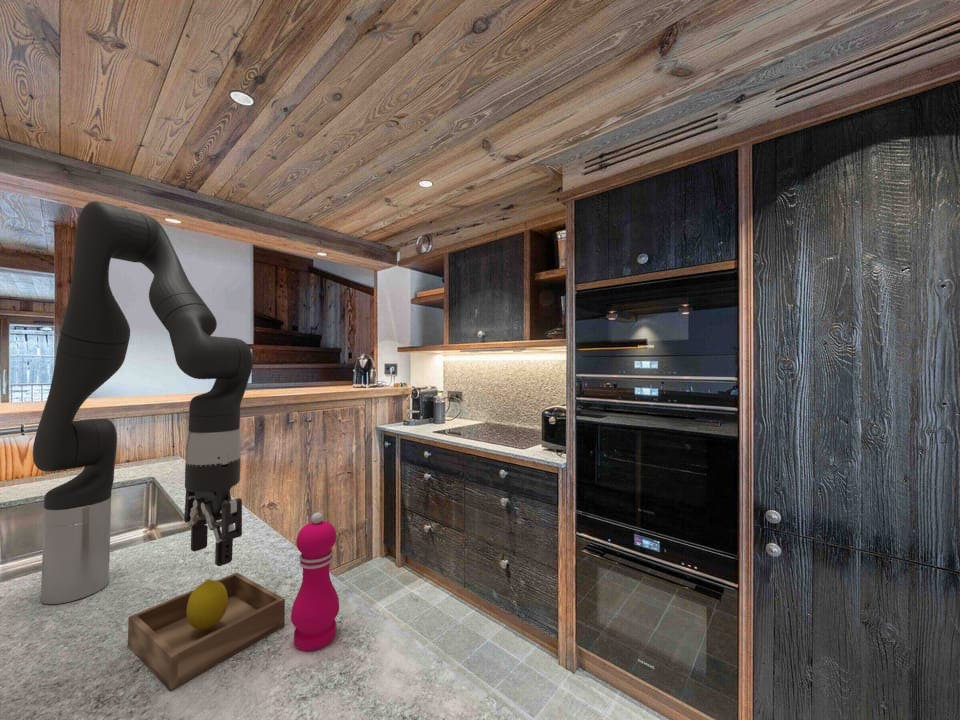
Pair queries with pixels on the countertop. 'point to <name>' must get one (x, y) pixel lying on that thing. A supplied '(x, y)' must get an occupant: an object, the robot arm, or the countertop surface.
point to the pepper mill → (315, 587)
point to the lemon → (207, 604)
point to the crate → (203, 631)
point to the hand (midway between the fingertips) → (210, 556)
